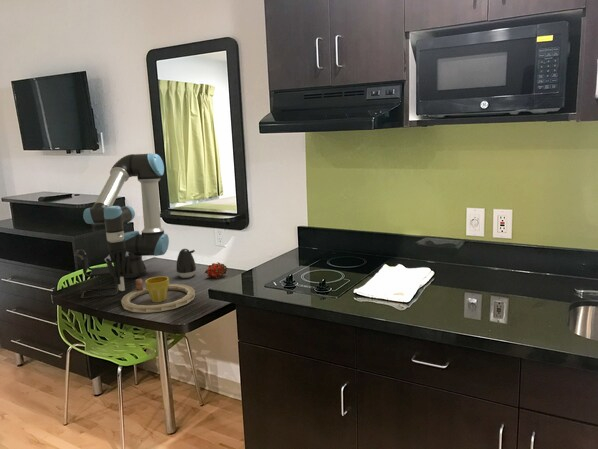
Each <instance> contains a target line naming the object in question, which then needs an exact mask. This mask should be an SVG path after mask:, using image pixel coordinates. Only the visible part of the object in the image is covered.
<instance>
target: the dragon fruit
mask: <svg viewBox="0 0 598 449" xmlns="http://www.w3.org/2000/svg"><path fill="white" fill-rule="evenodd" d="M227 271H228V268H227V265H225V264H224V263H221V262H215V263H211V264H209V265H208V267H207V268H206V269H205V271H204V274H207V277H208V278H212V279H218V278H221V277H223V275H226V274H227Z"/></svg>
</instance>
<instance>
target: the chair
mask: <svg viewBox="0 0 598 449" xmlns="http://www.w3.org/2000/svg"><path fill="white" fill-rule="evenodd" d="M79 252H83V253H84V254H83V255H84V256H83V255H81V254H79ZM73 256H74V258H75V257H76V258H77V257H79V258H80V259H81V260H80V261H81V266H82V271H83V276H85V277H87V278H93V277H94V278H96V277H104V276H111V274H110V271H109V269H108V266H107V265H106V266H98V267H90V266H89V261H88V260H89V259H88V253H87V251H86V249H84V248H77V249H76V250H75V252H74V254H73ZM113 267H114V265H113ZM88 270H89V271H90V274H88V273H87V272H88ZM113 278H114V285H113V286H105V287H104V286H103V287H96V288H95V287H94V288H89V289H85V290H83V291H82V292H81V293H80V299H81V298H86V299H85V300H88V299H87V298H91V299H96V298H97V299H98V297H99V298H106V296H107V297H113V296H116V295H117V294H118V293H119V288H118V284H117V283H116V277H113ZM103 289H104V290H113V289H115V292H112V293H107V294H98V295H91V296H85V293H86V292H85V291H88V290H96V291H102V290H103ZM84 292H85V293H84Z"/></svg>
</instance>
